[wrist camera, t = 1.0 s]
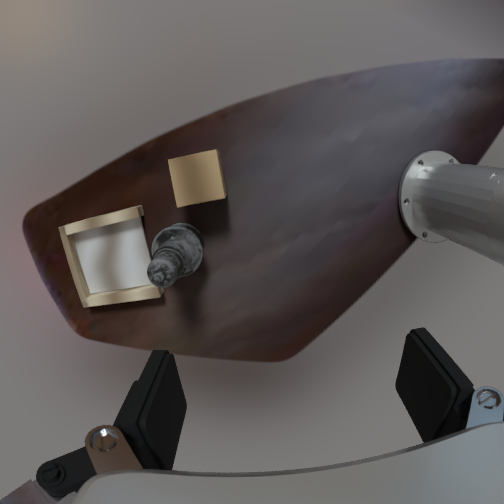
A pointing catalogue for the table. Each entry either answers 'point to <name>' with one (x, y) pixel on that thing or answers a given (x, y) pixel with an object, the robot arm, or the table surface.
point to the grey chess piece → (175, 254)
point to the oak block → (198, 178)
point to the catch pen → (109, 258)
